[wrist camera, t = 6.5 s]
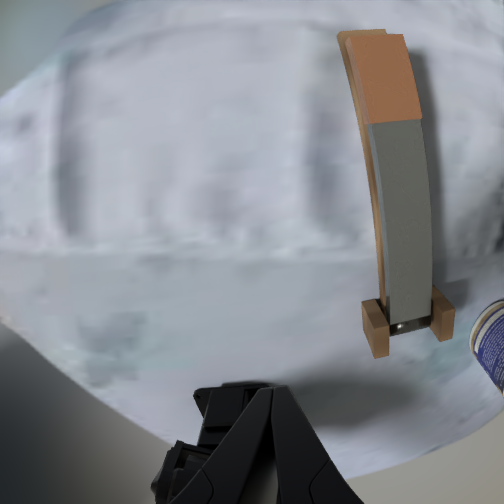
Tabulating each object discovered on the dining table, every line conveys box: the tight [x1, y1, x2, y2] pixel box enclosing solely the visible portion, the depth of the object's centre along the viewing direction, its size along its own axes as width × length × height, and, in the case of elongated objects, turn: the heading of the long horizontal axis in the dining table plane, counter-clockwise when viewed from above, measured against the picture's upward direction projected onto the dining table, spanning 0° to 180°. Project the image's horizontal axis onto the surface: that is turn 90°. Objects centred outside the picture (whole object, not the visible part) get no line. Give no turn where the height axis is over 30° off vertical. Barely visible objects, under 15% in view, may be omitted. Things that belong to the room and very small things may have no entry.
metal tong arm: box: [345, 34, 432, 337], centre depth 17 cm, size 19×3×1 cm, turn 13°
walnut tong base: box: [337, 29, 455, 359], centre depth 17 cm, size 20×6×4 cm, turn 12°
